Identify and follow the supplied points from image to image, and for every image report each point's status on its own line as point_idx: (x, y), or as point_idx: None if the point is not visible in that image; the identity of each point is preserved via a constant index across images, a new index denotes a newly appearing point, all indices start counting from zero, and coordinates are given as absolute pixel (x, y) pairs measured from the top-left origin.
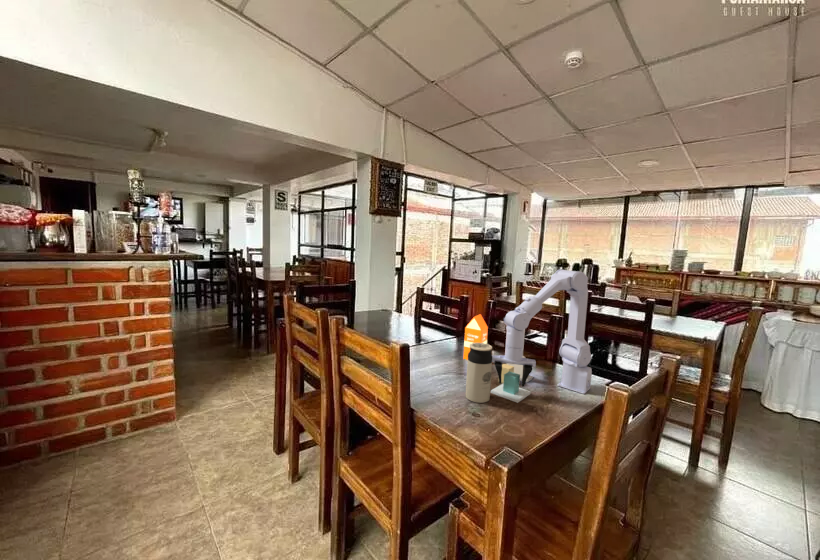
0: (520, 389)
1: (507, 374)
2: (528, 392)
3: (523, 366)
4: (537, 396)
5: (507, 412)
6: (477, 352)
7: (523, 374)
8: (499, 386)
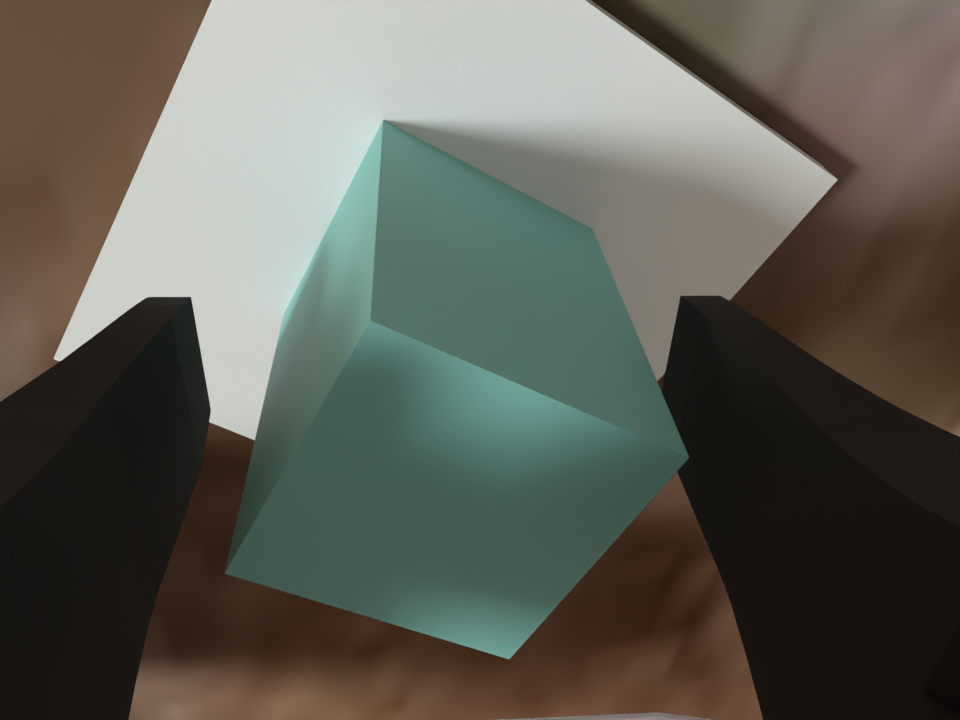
0: (649, 142)
1: (316, 555)
2: (772, 237)
3: (908, 643)
4: (903, 235)
5: (358, 716)
6: None
7: (768, 567)
8: (194, 122)
